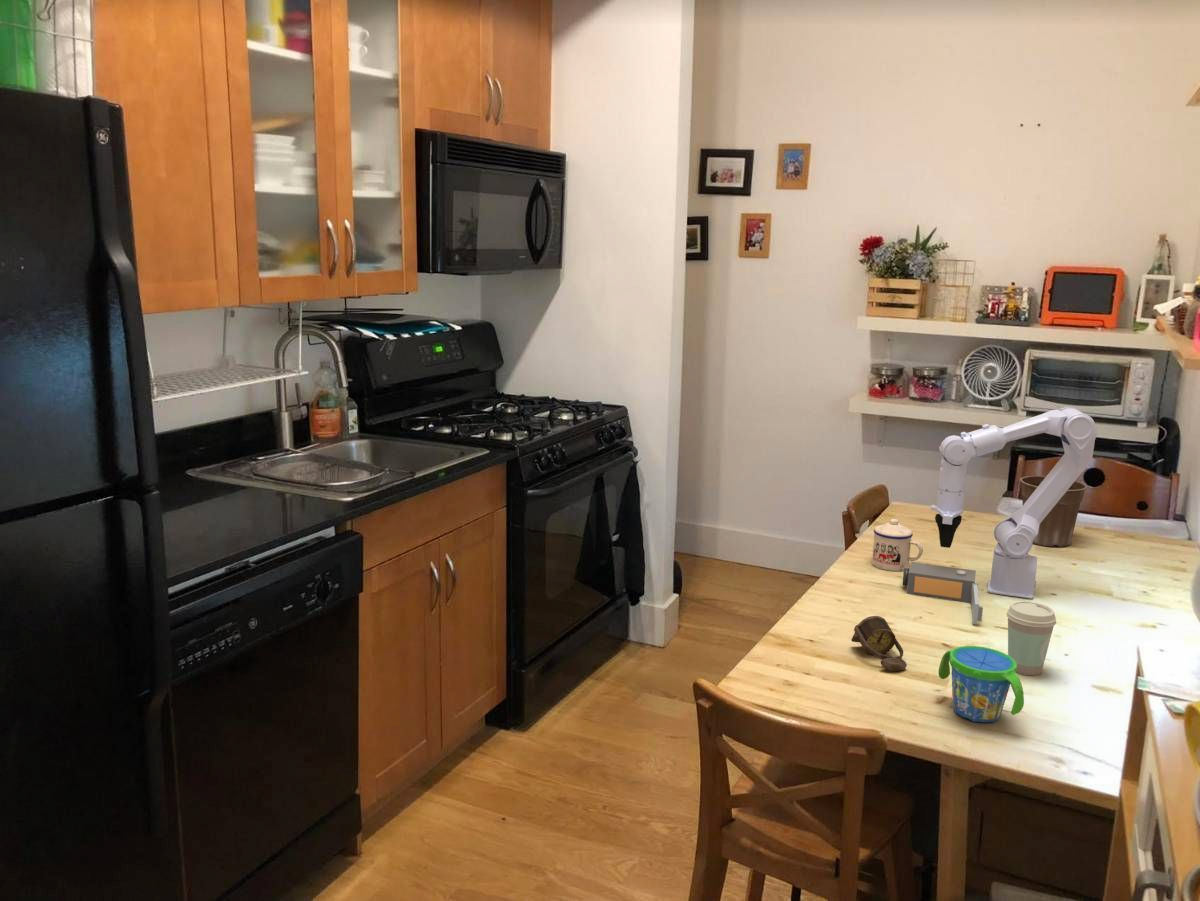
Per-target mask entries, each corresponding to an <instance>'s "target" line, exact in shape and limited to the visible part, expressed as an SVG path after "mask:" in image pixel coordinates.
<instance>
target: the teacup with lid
mask: <svg viewBox="0 0 1200 901" xmlns="http://www.w3.org/2000/svg"><path fill="white" fill-rule="evenodd" d="M873 533H874V534H873V536H874V537H873V547H872V556H871V557H872V558H871V559H872V560H871V563H872V564H871V565H872V566H874V567H876V568H877V569H880V570H883V571H884V570H885V571H888V572H901V571H904V568H908V569H909V568H910V562H915V561H918V560H919V559H920V558H921V557H922V555H923V551H924V548H923V546H922V543H920V542H919V541H917V540H912V537H913V535H914V534H913V532H912V529H910V528H908V527H906V526H905V525H902V524H901V523H899V520H898V519H896V518H891V519H889V522H885V523H884V524H879V525H876V526H875V527H874V529H873ZM911 545H915V546H916V547H917V548H918V554H917V556H916V557H910V555H911Z"/></svg>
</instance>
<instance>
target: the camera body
mask: <svg viewBox="0 0 1200 901" xmlns="http://www.w3.org/2000/svg"><path fill="white" fill-rule="evenodd" d="M976 574H977V570H975V569H966V568H959V567H953V566H944V565H937V564H931V563H930V564H929V563H923V562H915V561H910V564H909V567H908V568H904V570H903V574H902V586H904V587H906V594H907V595H912V596H913V595H914V596H915V595H916V596H921V597H927V598H934V599H942V600H949V601H955V602H963V603H968V604H971V603H970V600H971V591H972V583H976Z"/></svg>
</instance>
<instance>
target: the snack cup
mask: <svg viewBox="0 0 1200 901" xmlns="http://www.w3.org/2000/svg"><path fill="white" fill-rule="evenodd" d="M1016 669H1017V663H1016V662H1015V660H1014V659H1013V658H1011V657H1010V656H1009V655H1008V653H1007V654H1006V653H1005V652H1002V651H1000V650H998V649H994V648H991V647H985V646H980V645H963V646H958V647H955V648H953V649H950V650H947V651H946V652H945V653H944V654H943V655H942V657H941V660H940V663H939V666H938V676H939V678H940V679H941V680H947V678H949V677H950V674H951V687H952V688H951V689H952V690H951V692H952V706H953V711H954V712H955V713H956V714H958V715H959V716H961V717H962V718H965V719H968V720H969V721H972V722H973V723H976V722H980V723H995V722H996V721H997V720H999V718H1000V717H1001V715H1002V712H1003V709H1004V705H1005V703H1006V701H1007V696H1008V694H1009V690H1010V687H1011V689H1012V692H1013V695H1014V697H1015V698H1014V700H1013V704H1012V707H1011V711H1010V714H1011V715H1012V716H1014V715H1016V714H1017V715H1018V714H1019V713H1020V712H1021V711H1023V708H1024V705H1025V696H1024V688H1023V684H1022V682H1021V679H1020V677H1019V676H1018V674H1017V672H1016Z"/></svg>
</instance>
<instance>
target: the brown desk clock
mask: <svg viewBox="0 0 1200 901" xmlns="http://www.w3.org/2000/svg"><path fill="white" fill-rule="evenodd" d="M853 631H854V633H853V635H852V637H851V642H853V643H859V644H860V645H861V647H862V648H863V650H864V651H865V653H867V654H869V655H870V656H875V657H876V658H879V659H881V660H880V665H881V666H882V667H883V668H884V670H887V671H889V672H899V671H903V670H905V669H906V668H907V666H908V665H907V664H908V663H907V662H906V661H905V660H903V659H902V658H903V656H904V648H903V647H902V645H901V644H900V642H899V641H898V639H897V638H896V635H895V633H894V631H893V630H892V628H891V627H890V625H889V624H888V622H887V621H886V619H885V618H884V617H882V616H880V615H871V616H868V617H865V618H864V619H862V620H861V621H860V622H859V623H858V624H856V625H855V626H854V628H853ZM894 647H896V649H897V651H898V652H899V656H890V655H886V653H888V652H890V651H891V650H892V649H893V648H894Z"/></svg>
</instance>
